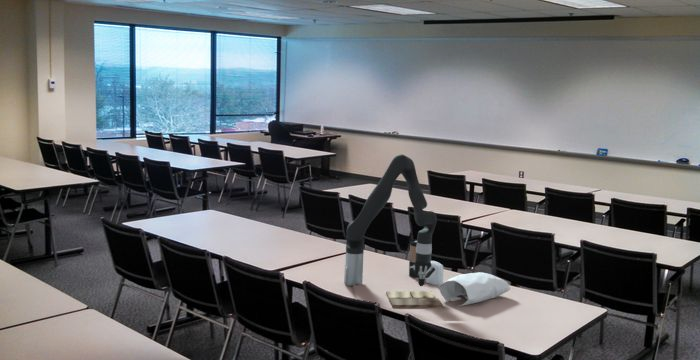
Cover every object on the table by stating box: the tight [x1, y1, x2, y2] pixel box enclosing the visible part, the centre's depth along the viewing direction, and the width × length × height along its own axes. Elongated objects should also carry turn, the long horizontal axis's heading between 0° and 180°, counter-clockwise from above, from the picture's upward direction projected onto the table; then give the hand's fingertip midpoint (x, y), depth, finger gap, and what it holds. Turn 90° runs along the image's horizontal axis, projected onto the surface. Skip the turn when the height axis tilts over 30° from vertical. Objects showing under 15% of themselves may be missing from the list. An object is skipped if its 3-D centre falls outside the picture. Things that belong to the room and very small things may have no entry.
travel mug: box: [408, 238, 418, 279], centre depth 350 cm, size 8×8×20 cm
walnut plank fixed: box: [388, 297, 444, 309], centre depth 303 cm, size 24×9×2 cm, turn 96°
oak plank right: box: [409, 290, 436, 298], centre depth 313 cm, size 11×9×2 cm
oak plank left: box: [385, 291, 412, 301], centre depth 312 cm, size 11×9×2 cm
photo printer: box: [425, 260, 444, 286], centre depth 338 cm, size 10×4×12 cm, turn 39°
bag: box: [437, 271, 511, 307], centre depth 316 cm, size 19×19×35 cm
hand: (421, 285), depth 314 cm, fingers closed
